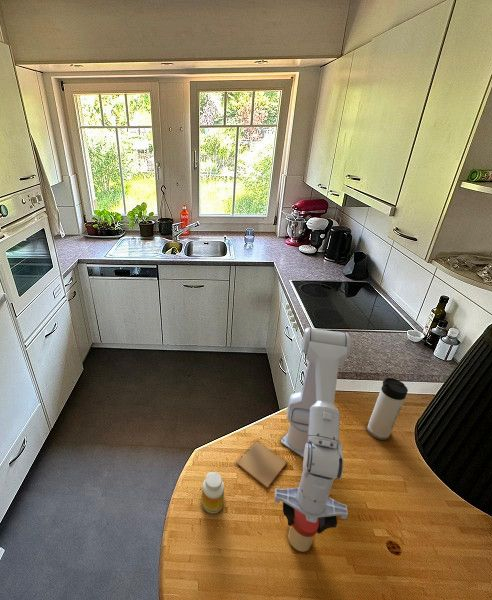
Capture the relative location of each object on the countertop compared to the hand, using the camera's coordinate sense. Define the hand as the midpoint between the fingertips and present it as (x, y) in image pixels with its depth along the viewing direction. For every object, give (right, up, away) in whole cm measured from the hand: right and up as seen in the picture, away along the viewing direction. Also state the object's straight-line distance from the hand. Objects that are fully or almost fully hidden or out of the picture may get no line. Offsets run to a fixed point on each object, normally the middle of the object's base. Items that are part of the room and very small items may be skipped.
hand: (303, 524), depth 73 cm
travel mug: (+34, +9, +29) cm, 46 cm away
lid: (0, +2, -1) cm, 2 cm away
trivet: (-5, +4, +20) cm, 21 cm away
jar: (0, -5, +3) cm, 6 cm away
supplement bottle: (-20, -2, +10) cm, 22 cm away
